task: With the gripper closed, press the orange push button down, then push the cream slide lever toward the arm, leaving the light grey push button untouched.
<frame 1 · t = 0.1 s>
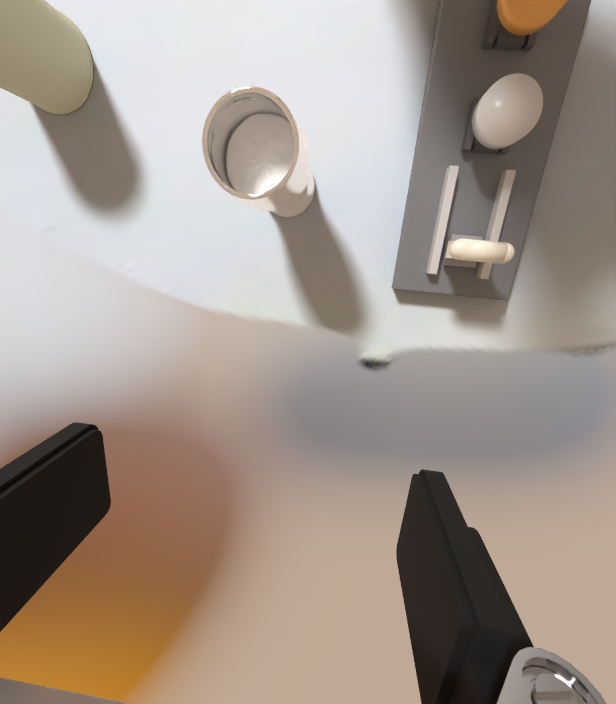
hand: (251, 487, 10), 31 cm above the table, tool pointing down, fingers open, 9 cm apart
lever: (472, 251, 31), point 5 cm above the table, slide at 0.0 cm
grey button: (503, 115, 27), point 5 cm above the table, slide at 0.0 cm
can: (54, 65, 35), on the table
tall white cup: (287, 187, 36), on the table
panel: (473, 158, 33), on the table
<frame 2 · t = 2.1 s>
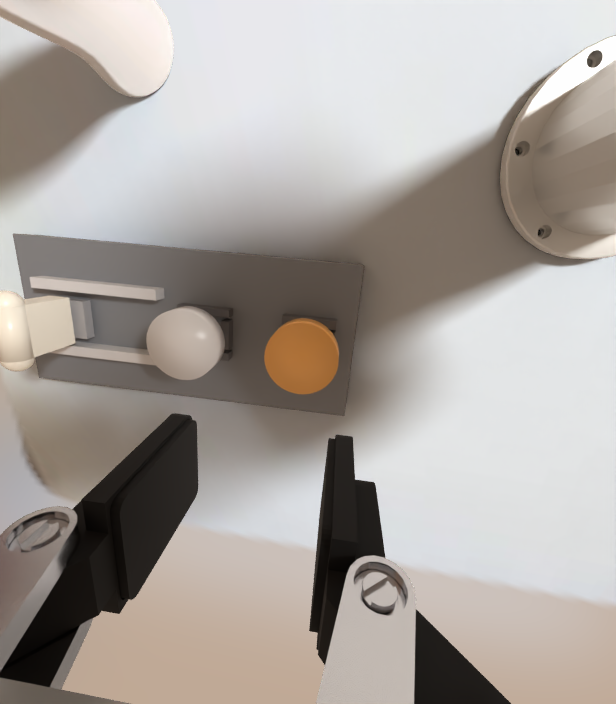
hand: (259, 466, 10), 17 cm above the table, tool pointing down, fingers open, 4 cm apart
lever: (41, 325, 23), point 5 cm above the table, slide at 0.0 cm
grey button: (190, 341, 23), point 5 cm above the table, slide at 0.0 cm
tall white cup: (134, 47, 22), on the table
orange button: (303, 353, 22), point 5 cm above the table, slide at 0.0 cm
panel: (194, 322, 28), on the table
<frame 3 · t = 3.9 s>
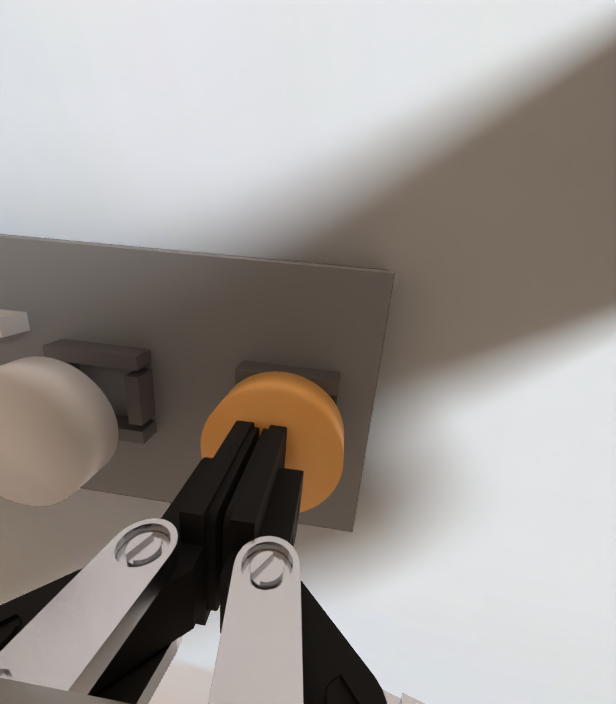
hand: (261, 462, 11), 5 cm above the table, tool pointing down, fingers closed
grey button: (48, 423, 11), point 5 cm above the table, slide at 0.0 cm
orange button: (278, 435, 12), point 4 cm above the table, slide at 1.2 cm
panel: (101, 365, 16), on the table
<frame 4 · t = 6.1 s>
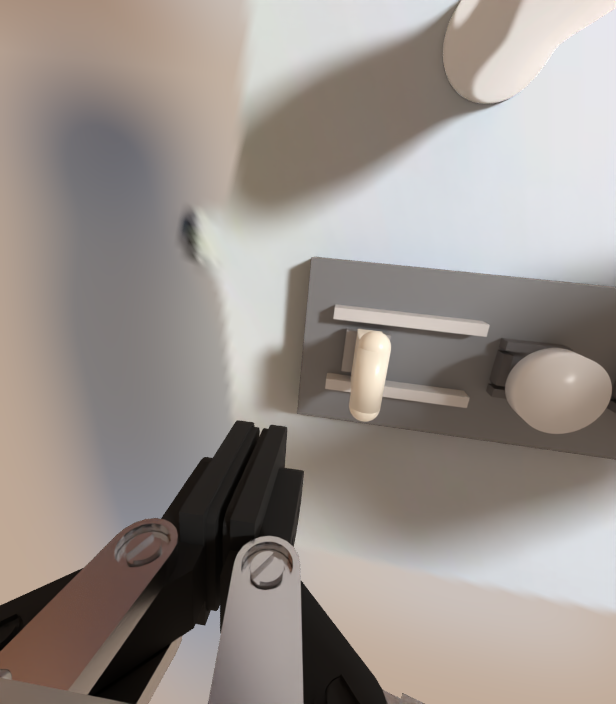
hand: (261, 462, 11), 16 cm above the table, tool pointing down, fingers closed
lever: (367, 364, 20), point 5 cm above the table, slide at 0.0 cm
grey button: (550, 387, 20), point 5 cm above the table, slide at 0.0 cm
tall white cup: (494, 45, 19), on the table
panel: (482, 356, 25), on the table
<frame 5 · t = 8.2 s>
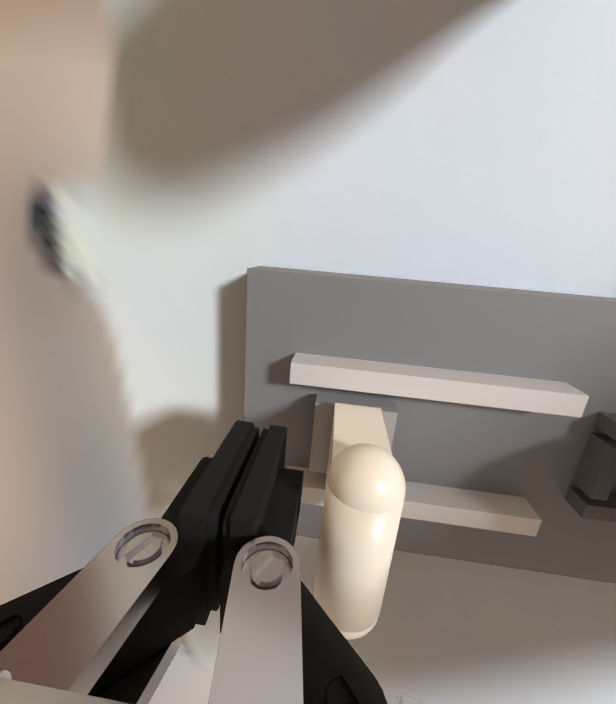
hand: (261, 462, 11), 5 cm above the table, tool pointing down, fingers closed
lever: (353, 483, 10), point 5 cm above the table, slide at 0.0 cm, touching gripper
panel: (549, 430, 15), on the table
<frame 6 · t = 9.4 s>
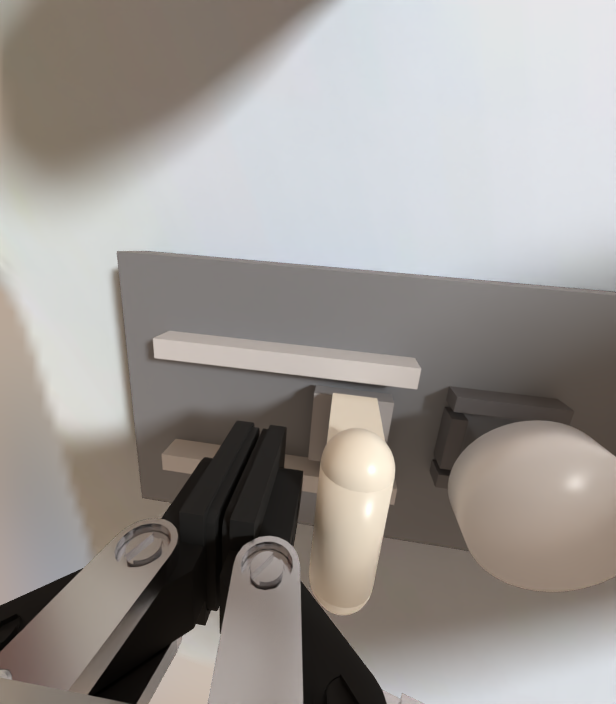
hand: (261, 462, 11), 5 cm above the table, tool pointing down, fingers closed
lever: (348, 470, 10), point 5 cm above the table, slide at 5.3 cm, touching gripper
grey button: (531, 493, 10), point 5 cm above the table, slide at 0.0 cm
panel: (427, 407, 15), on the table
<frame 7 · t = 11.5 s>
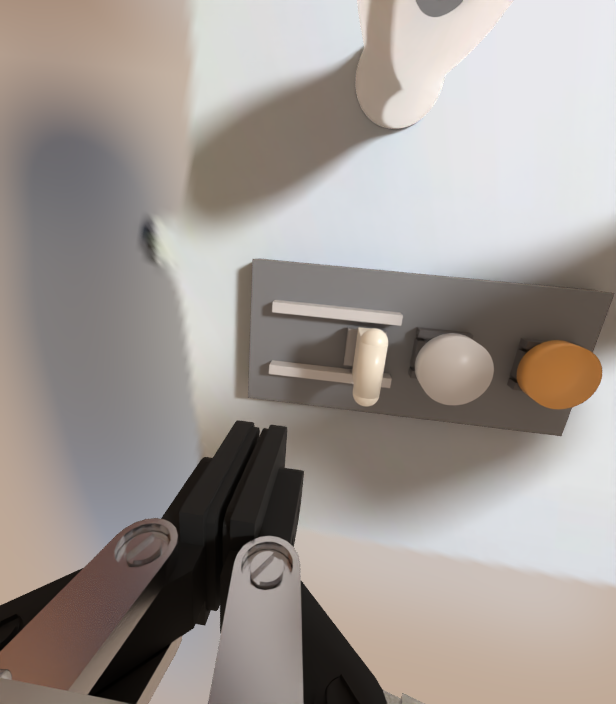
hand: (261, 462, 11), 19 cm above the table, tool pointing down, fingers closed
lever: (367, 358, 23), point 5 cm above the table, slide at 5.1 cm
grey button: (450, 366, 23), point 5 cm above the table, slide at 0.0 cm
tall white cup: (398, 81, 23), on the table
orange button: (553, 372, 24), point 4 cm above the table, slide at 1.5 cm
panel: (407, 344, 28), on the table
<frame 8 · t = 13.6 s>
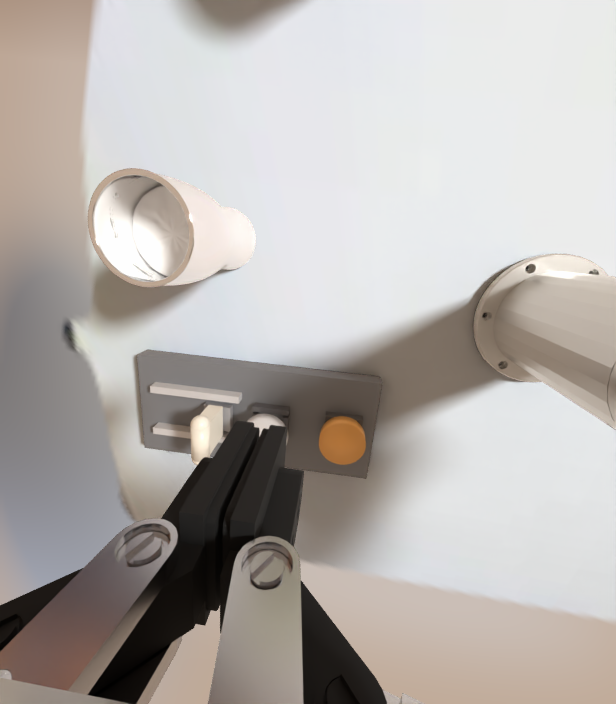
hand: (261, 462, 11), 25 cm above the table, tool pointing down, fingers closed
lever: (209, 429, 34), point 5 cm above the table, slide at 5.1 cm
grey button: (265, 435, 34), point 5 cm above the table, slide at 0.0 cm
tall white cup: (228, 239, 33), on the table
orange button: (342, 437, 34), point 4 cm above the table, slide at 1.5 cm
panel: (258, 409, 39), on the table
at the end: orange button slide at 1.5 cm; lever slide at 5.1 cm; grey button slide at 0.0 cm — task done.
